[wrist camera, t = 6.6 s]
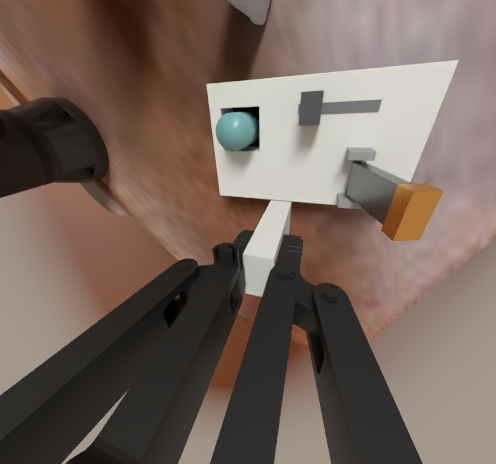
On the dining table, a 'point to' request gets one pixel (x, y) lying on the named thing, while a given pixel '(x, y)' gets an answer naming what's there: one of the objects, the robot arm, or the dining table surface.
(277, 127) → the panel
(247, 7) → the electrical switch
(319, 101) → the slider
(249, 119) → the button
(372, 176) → the lever
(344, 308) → the robot arm
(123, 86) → the dining table surface
